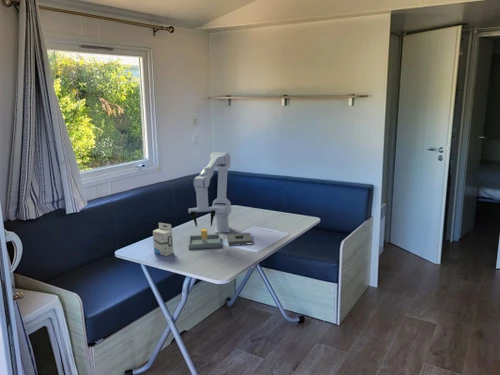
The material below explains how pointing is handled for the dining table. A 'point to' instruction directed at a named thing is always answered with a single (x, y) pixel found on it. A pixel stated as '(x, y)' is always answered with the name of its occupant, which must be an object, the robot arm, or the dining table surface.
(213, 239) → the parts tray
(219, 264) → the dining table surface
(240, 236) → the fuse holder
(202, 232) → the block
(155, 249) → the ink box
